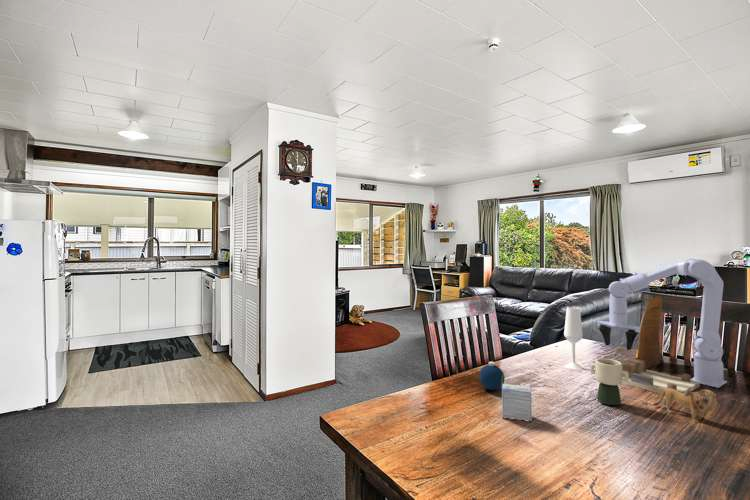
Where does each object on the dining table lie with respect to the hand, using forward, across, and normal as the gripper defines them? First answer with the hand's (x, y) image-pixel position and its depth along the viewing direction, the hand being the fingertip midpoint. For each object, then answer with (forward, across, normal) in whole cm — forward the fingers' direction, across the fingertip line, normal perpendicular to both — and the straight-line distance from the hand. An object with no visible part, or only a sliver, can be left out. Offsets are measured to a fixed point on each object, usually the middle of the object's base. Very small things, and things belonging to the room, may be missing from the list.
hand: (618, 347), depth 145 cm
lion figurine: (+10, +29, -25) cm, 39 cm away
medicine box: (+10, +2, -66) cm, 67 cm away
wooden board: (+8, +6, -3) cm, 10 cm away
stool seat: (+10, +12, -3) cm, 16 cm away
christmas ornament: (+10, -16, -55) cm, 58 cm away
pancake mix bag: (+10, +4, +19) cm, 22 cm away
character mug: (+10, +12, -34) cm, 37 cm away
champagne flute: (+10, -13, -9) cm, 18 cm away
